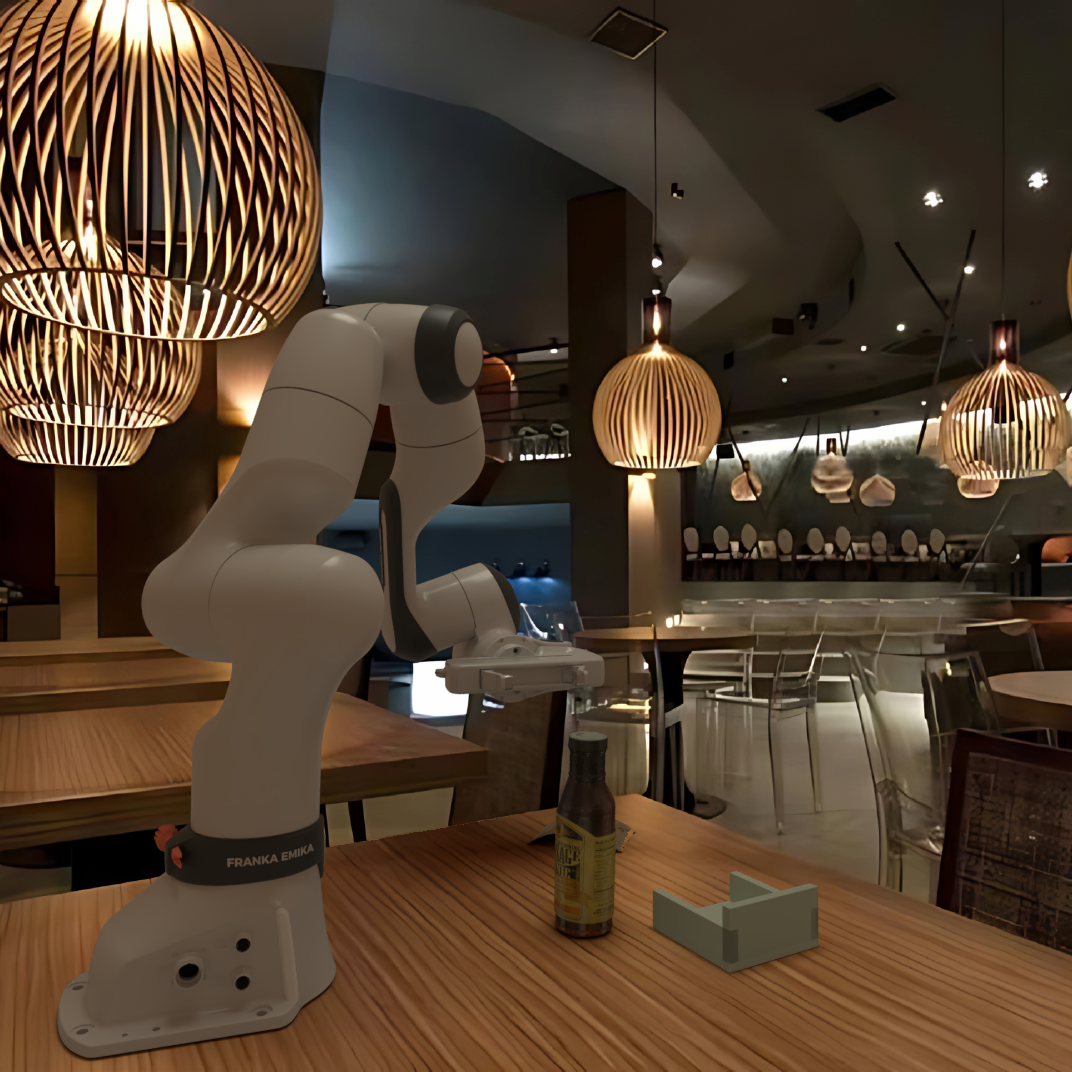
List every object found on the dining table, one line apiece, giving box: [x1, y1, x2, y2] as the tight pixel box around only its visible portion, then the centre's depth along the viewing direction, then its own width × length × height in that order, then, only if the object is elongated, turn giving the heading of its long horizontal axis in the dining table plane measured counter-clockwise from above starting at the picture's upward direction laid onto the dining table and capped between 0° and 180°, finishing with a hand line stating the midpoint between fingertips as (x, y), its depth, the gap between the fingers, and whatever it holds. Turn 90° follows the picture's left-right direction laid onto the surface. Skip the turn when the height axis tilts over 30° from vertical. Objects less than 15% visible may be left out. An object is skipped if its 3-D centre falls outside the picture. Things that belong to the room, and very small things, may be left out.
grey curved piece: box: [526, 819, 632, 853], centre depth 119 cm, size 14×10×3 cm
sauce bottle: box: [553, 730, 617, 938], centre depth 90 cm, size 6×6×20 cm
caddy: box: [652, 870, 819, 974], centre depth 88 cm, size 12×12×6 cm
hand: (545, 681), depth 102 cm, fingers open, 8 cm apart
